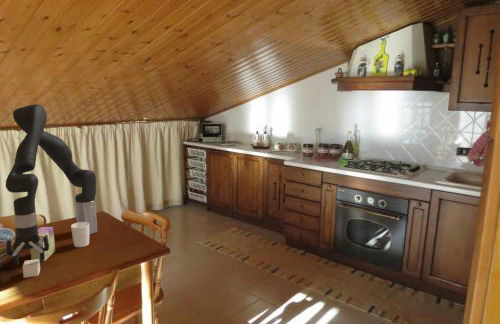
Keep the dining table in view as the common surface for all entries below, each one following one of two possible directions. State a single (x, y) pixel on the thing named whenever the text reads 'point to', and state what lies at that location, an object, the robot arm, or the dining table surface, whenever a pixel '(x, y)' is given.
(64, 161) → the robot arm
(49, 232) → the box
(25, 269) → the cube
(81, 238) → the white cup
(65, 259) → the dining table surface
